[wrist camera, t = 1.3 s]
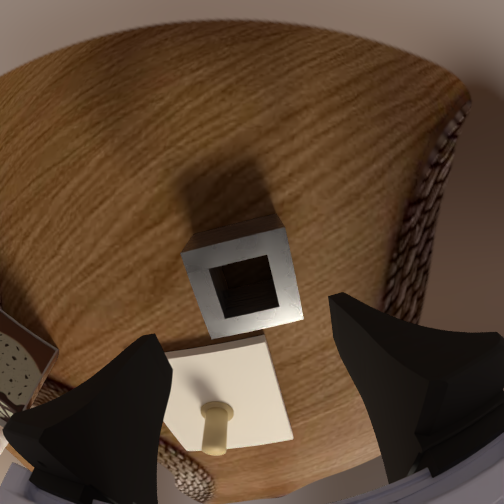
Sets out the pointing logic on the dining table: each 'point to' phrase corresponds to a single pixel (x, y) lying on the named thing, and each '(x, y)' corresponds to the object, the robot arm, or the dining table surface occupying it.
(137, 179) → the dining table surface
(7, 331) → the food container
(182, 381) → the shaft board
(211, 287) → the collar
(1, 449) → the bottle
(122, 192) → the dining table surface
